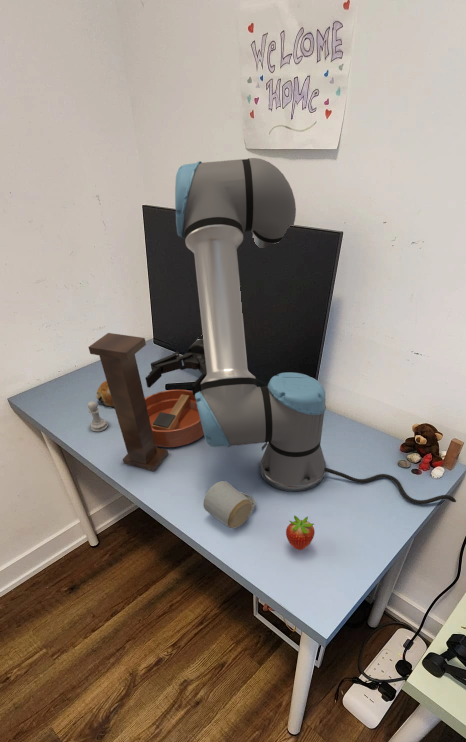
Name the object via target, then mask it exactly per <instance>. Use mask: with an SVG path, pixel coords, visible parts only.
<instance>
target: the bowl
mask: <svg viewBox="0 0 466 742" xmlns="http://www.w3.org/2000/svg"><path fill="white" fill-rule="evenodd" d="M182 394H183V395H189V396H190V402H189V404H188V405H187V407H186V408H185V410H184V412H183V413H182V415H181V416H180V418H179V420H178V421H179V425H180V426H179V427H178V429H175V430H154V429H153V427H152V425H153V422H154V421H155V419H156V418H157V416H158V415H159V413H160V412H162V413H167V414H169V413H170V412H171V410H172V409H173V407H174V406H175V404H176V402H177V401H178V399H179V398H180V396H181V395H182ZM145 402H146V406H147V411H148V415H149V419H150V424H151V428H152V433H153V437H154V441H155V446H156V447H157V448H176V447H182V446H186V445H188V444H191V443H194V442H195V441H197V440H199V439H201V438H202V437H203V436H204V432H203V428H202V424H201V420H200V416H199V412H198V408H197V403H196V399H195V396H194V395H193V392H192V390H187V389H168V390H163V391H158V392H156V393H153V394H150V395H148V396H146V397H145Z"/></svg>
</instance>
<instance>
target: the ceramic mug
mask: <svg viewBox="0 0 466 742" xmlns="http://www.w3.org/2000/svg"><path fill="white" fill-rule="evenodd" d="M256 504H257V501H256V499H255V498H254V497H253V496H252V495H250V494H248V493H246V492H242V491H240V490H238V489H237V488H235V487H234V486H233V485H232V484H230V483H229V482H228V481H226V480H220V481H218V482H215V483H214V484H213V485H212V486H211V487H210V488H209V489H208V490H207V492H206V494H205V495H204V498H203V504H202V505H203V509H204V510H205V511H206V512H207V513H208V514H209V515H211V516H213V517H214V518H215V519H216V520H218V521H219V522H220V523H222V524H223V525H224V526H226V527H229V528H231V529H236V528H239V527H241V526H243V524H245V523H246V521H247V520H248V519H249V517H250V516H251V513H252V511H253V510H255V508H256Z"/></svg>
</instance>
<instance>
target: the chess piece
mask: <svg viewBox="0 0 466 742" xmlns="http://www.w3.org/2000/svg"><path fill="white" fill-rule="evenodd" d="M87 408H88V413H89V414H91V417H92V421H91V422H90V424H89V426H90V430H92V431H93V432H102V431H105V430H106V429H107V428H108V425H109V424H108V422H107V420H106V419H104V418H102V417H101V416H100V413H99V412H100V408H98V404H97V402H96V401H89V402H88V403H87Z"/></svg>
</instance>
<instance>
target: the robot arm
mask: <svg viewBox="0 0 466 742" xmlns="http://www.w3.org/2000/svg"><path fill="white" fill-rule="evenodd" d="M174 189H175V190H174V200H175V201H174V202H175V203H174V204H175V205H174V207H175V225H176V234H177V236H178V237H180V238H182V239H184V241H185V247H186V248H187V249H188V250H189V251H191V252H192V253H193V255H194V264H195V265H194V266H195V275H196V285H197V293H198V302H199V303H198V304H199V311H200V321H201V332H202V335H203V339H198V338H197V339H196V340H195V341H194V342H193V343H192V344H191V345H190V346H189V347H188V350H187V351H186V353H184V354H180V352H179V351H175V352H173V353H172V354H169V355H168V356H167V355H166V356H165V357H163V358H159V359H158V360H155V361H153V362H150V368H151V371H149V374H148V375H146V377H145V383H146V387H147V388H149V389H150V388H151V387H152V386H153V385H154V384H155V383H156V382H157V381H158V380H159V379H160V378H162V377H163V376H162V375H164V374H167V373H170V372H174V371H177V370H181V371H183V370H187V369H190V370H195V371H197V370H198V371H199V372H200V374H201V375H200V376H199V377H198V378H197V379H196V380H195V382H194V383H193V384H191V391H192V392H193V395H194V396H195V399H196V403H197V408H198V412H199V416H200V420H201V424H202V428H203V432H204V435H203V436H204V440H205V442H206V444H207V445H209V447H212V448H219V447H221V448H222V447H227V448H230V447H235V446H244V445H255V444H263V443H264V444H263V445H262V446H261V451H263V450H264V449H265V450H264V452H263V455H262V457H261V459H260V474H261V477H262V478H263V480H264V481H265V482H266V483H267V484H268V485H270V486H271V487H273V488H275V489H277V490H281V491H286V492H303V491H308V490H309V489H312V488H314V487H316V486H318V485H319V484H320V483H321V482H322V481H323V479H324V478H325V474H326V473H329V474H332V475H334V476H338V477H341V478H343V479H346V480H348V481H351V482H354V483H358V484H367V483H370V482H373V481H376V480H379V479H388V480H391V481H392V482H394V484H395V485H396V487H397V488H398V490H399V492H400V494H401V496H402V497H403V499H405V500H407V501H408V502H410V503H412V504H416V505H428V504H431V503H435V502H439V501H441V500H448V501H450V502H451V503H456V502H457V500H456V498H455V497H454V496H451V495H450V494H449V495H448V494H440V495H438V496H434V497H430V498H428V499H415V498H413V497H411V496H409V494H407V492H406V491H405V489H404V488H403V485H402V483H401V482H400V481H399V480H398V478H397V477H395V476H393V475H390V474H388V473H379V474H375V475H373V476H370V477H367V478H363V479H362V478H356V477H353V476H351V475H348V474H346V473H343V472H341V471H338V470H335V469H331V468H328V467H327V464H326V460H325V456H324V452H323V449H322V445H321V444H322V434H323V426H324V419H325V412H326V409H327V406H326V390H325V388H324V386H323V384H321V382H319V381H318V380H317V379H315V378H314V377H311V376H310V375H307V374H304V373H300V372H290V371H289V372H280V373H278V374H276V375H273V376H272V377H271V378H270V380H269V382H268V383H267V385H264V386H258V385H257V378H256V376H255V375H254V374H252V373H251V372H250V371H249V369H248V359H247V348H246V337H245V336H246V335H245V327H244V326H245V325H244V315H243V313H242V302H241V291H240V287H241V282H240V271H239V261H238V259H239V258H238V248H239V247H240V245H241V244H242V243H243V241H244V232H245V233H246V232H251V233H252V238H254V242H255V244H256V245H257V246H258V247H259V248H265V247H267V246H268V245H270V244H276V243H279V242H280V240H281V239H282V237H283V236H284V234H285V233H286V231H287V229H288V228H289V227H290V226H288V225H294V226H295V222H296V216H297V208H296V207H297V205H296V199H295V195H294V192H293V189H292V187H291V185H290V183H289V181H288V179H287V178H286V177H285V175H284V173H282V171H281V170H280V168H278V167H277V166H276V165H274V164H273V163H271V162H270V161H267V160H266V159H262V158H257V157H249V158H245V159H244V158H243V159H230V160H218V161H205V162H202V161H200V160H197V162H193V163H187V164H183V165H181V166H180V167H178V169H177V171H176V175H175V187H174Z"/></svg>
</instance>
